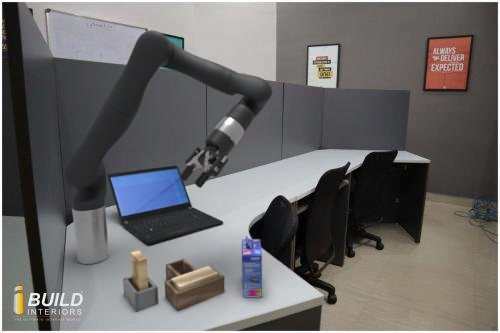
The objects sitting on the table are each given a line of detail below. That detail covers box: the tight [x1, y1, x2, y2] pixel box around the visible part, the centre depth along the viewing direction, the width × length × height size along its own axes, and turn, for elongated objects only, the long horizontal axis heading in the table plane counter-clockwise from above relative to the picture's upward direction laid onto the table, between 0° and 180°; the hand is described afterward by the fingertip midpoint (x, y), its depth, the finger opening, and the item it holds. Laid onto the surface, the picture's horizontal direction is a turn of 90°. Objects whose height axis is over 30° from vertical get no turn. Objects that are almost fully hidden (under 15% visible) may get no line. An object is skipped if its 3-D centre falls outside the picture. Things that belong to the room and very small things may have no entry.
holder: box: [122, 275, 159, 312], centre depth 86 cm, size 9×6×4 cm, turn 38°
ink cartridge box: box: [241, 235, 264, 298], centre depth 91 cm, size 10×6×14 cm, turn 2°
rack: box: [164, 258, 226, 312], centre depth 91 cm, size 16×14×4 cm
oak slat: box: [130, 249, 149, 292], centre depth 85 cm, size 6×2×12 cm, turn 39°
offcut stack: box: [171, 265, 219, 292], centre depth 88 cm, size 5×12×5 cm, turn 128°
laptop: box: [106, 165, 224, 245], centre depth 139 cm, size 33×38×19 cm
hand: (189, 182), depth 90 cm, fingers open, 8 cm apart
